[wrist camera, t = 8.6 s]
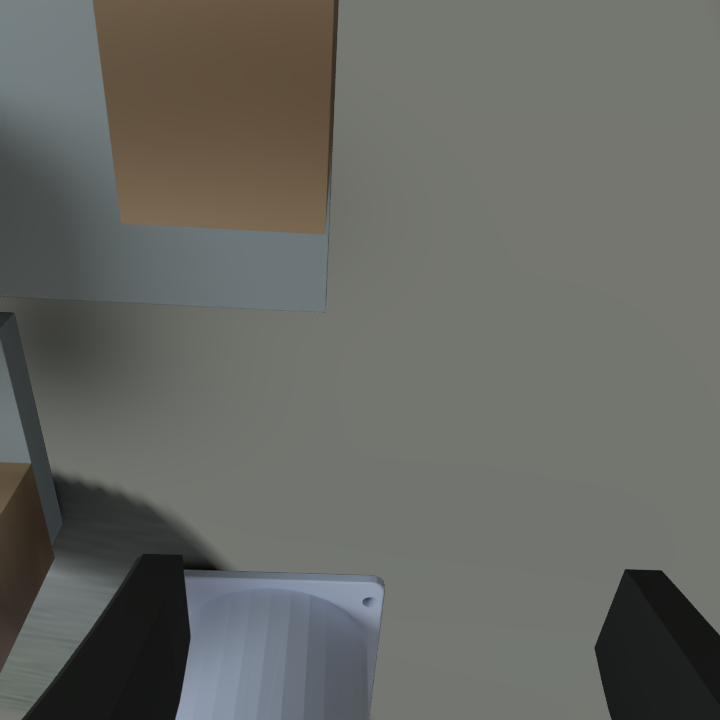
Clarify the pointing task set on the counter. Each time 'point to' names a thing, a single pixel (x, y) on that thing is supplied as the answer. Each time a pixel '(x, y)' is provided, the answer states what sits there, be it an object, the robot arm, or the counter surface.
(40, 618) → the counter surface
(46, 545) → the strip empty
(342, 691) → the robot arm
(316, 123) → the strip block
